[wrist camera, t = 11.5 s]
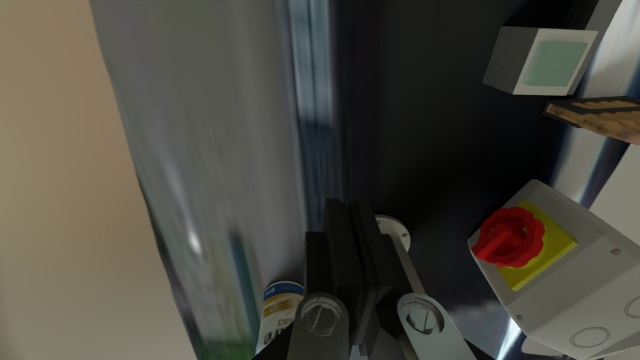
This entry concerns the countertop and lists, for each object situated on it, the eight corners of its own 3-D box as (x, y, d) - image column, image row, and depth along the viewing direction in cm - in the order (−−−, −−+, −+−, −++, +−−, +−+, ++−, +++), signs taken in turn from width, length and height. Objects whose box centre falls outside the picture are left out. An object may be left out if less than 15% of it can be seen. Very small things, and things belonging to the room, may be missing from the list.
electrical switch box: (499, 156, 41) (619, 245, 23) (570, 198, 44) (727, 307, 26) (436, 222, 48) (493, 332, 30) (501, 256, 50) (589, 375, 32)
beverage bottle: (258, 302, 53) (238, 439, 36) (270, 274, 49) (255, 414, 32) (298, 309, 55) (298, 442, 38) (314, 283, 51) (321, 419, 34)
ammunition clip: (627, 95, 35) (761, 129, 25) (619, 110, 36) (745, 148, 26) (547, 100, 35) (650, 136, 24) (541, 114, 36) (638, 155, 25)
